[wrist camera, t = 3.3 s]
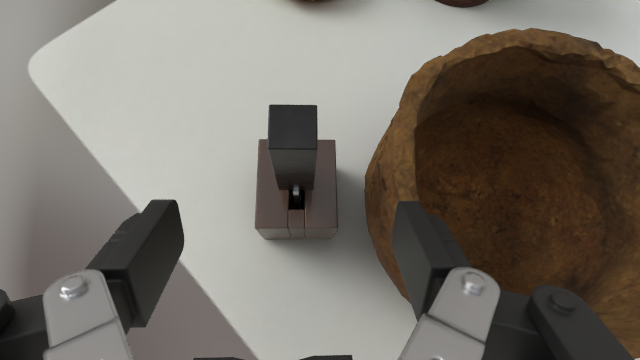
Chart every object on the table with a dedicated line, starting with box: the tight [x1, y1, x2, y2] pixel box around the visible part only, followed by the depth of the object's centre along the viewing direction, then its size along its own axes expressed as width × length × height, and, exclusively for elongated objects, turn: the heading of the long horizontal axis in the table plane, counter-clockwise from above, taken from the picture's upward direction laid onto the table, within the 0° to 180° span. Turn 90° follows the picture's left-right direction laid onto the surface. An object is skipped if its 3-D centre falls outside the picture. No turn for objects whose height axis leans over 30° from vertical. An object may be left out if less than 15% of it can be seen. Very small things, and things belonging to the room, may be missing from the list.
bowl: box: [364, 28, 640, 359], centre depth 24 cm, size 19×19×15 cm
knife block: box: [255, 139, 338, 239], centre depth 29 cm, size 6×7×6 cm
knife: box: [268, 105, 318, 210], centre depth 24 cm, size 2×3×16 cm
